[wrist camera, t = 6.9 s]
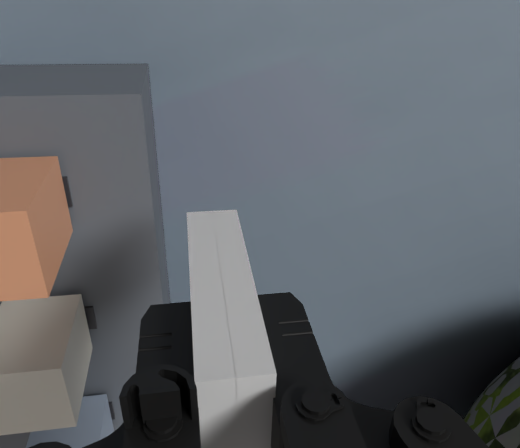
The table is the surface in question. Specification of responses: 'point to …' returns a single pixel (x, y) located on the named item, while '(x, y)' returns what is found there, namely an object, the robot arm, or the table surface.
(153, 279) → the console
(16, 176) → the slider terracotta
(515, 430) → the decorative globe
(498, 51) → the table surface
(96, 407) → the block
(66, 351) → the slider ivory
